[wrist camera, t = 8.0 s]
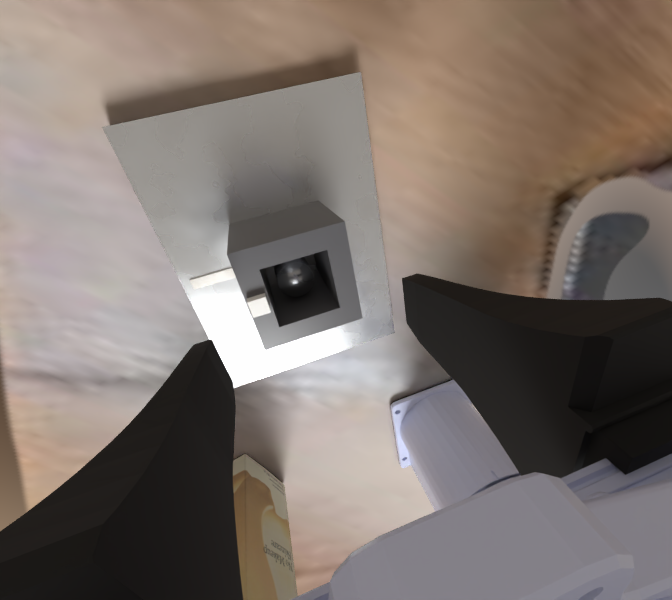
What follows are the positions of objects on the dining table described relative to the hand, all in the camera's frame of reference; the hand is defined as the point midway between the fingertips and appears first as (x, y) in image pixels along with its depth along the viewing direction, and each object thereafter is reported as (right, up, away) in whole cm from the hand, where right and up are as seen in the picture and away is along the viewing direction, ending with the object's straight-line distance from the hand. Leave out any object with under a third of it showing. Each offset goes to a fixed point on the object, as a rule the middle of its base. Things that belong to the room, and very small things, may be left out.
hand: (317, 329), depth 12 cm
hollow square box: (-2, +4, +7) cm, 8 cm away
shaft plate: (-2, +4, +8) cm, 9 cm away
